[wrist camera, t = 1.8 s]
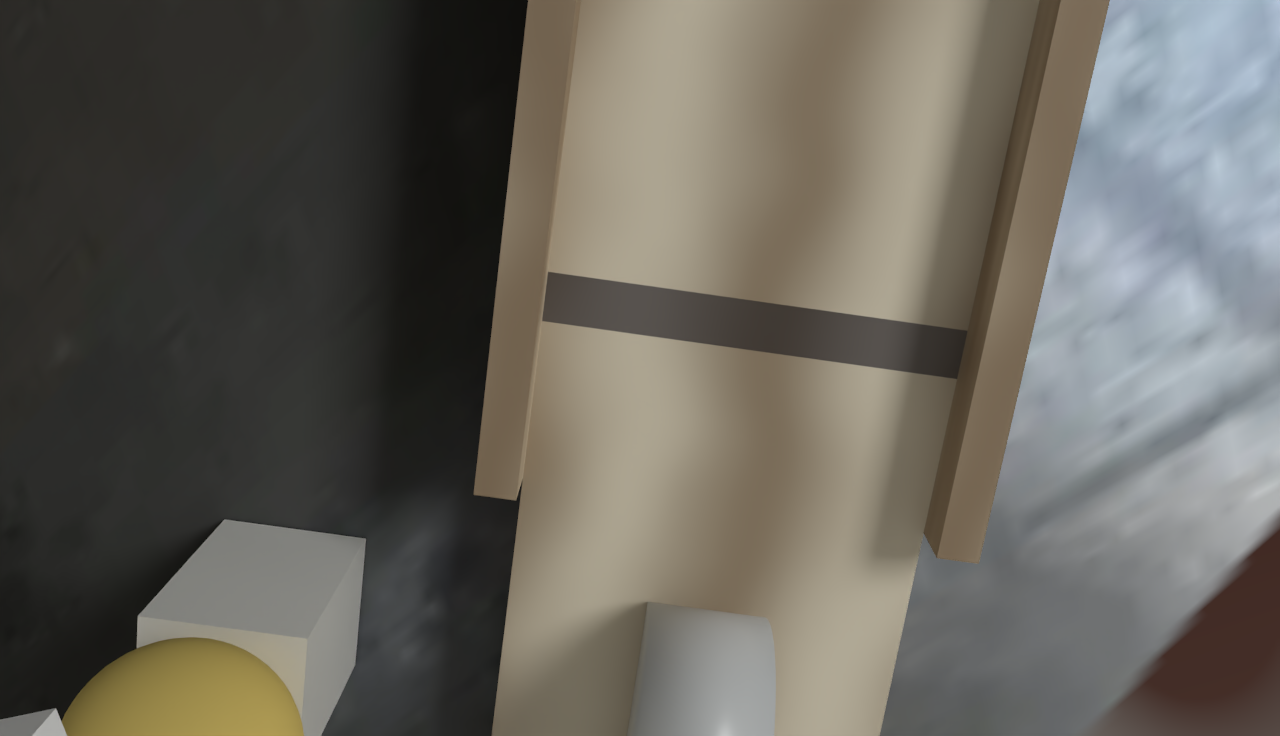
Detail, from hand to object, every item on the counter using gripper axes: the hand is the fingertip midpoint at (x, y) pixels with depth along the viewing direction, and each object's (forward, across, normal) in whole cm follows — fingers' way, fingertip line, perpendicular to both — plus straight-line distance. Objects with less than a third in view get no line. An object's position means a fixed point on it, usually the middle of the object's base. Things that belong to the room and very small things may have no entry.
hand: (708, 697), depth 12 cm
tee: (+19, -12, -6) cm, 23 cm away
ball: (+11, -12, -6) cm, 17 cm away
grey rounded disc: (+19, -2, -11) cm, 22 cm away
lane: (+19, +2, +1) cm, 19 cm away
